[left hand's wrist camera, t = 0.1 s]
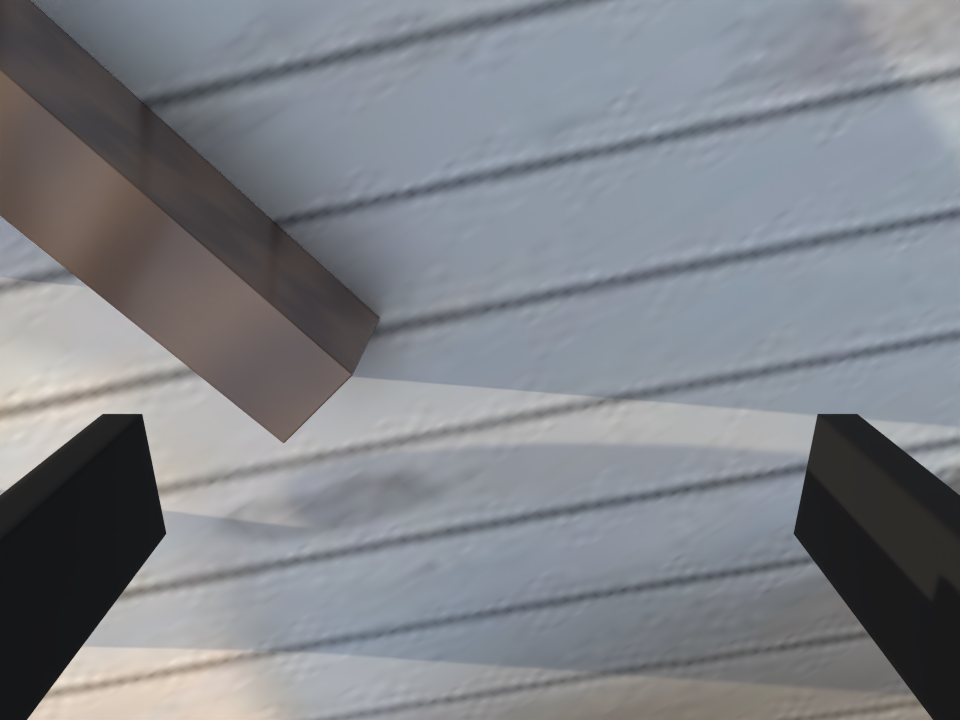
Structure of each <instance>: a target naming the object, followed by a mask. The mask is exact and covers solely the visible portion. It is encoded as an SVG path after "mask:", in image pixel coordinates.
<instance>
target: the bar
mask: <svg viewBox="0 0 960 720" xmlns="http://www.w3.org/2000/svg"><path fill="white" fill-rule="evenodd" d="M0 216H2V217H3V218H4V219H5V220H7V221H8V222H9V223H10V224H11V225H13V226H14V227H15V228H16V229H18V230H19V231H20V232H21V233H23V234H24V235H25V236H26V237H28V238H29V239H30V240H31V241H33V242H34V243H35V244H36V245H38V246H39V247H40V248H41V249H43V250H44V251H45V252H46V253H48V254H49V255H50V256H51V257H53V258H54V259H55V260H56V261H58V262H59V263H60V264H61V265H62V266H64V267H65V268H66V269H67V270H69V271H70V272H71V273H72V274H74V275H75V276H76V277H77V278H79V279H80V280H81V281H82V282H84V283H85V284H86V285H87V286H89V287H90V288H91V289H92V290H94V291H95V292H96V293H97V294H99V295H100V296H101V297H102V298H104V299H105V300H106V301H107V302H109V303H110V304H111V305H112V306H113V307H115V308H116V309H117V310H118V311H120V312H121V313H122V314H123V315H125V316H126V317H127V318H128V319H130V320H131V321H132V322H133V323H135V324H136V325H137V326H138V327H140V328H141V329H142V330H143V331H145V332H146V333H147V334H148V335H150V336H151V337H152V338H153V339H155V340H156V341H157V342H158V343H160V344H161V345H162V346H163V347H164V348H166V349H167V350H168V351H169V352H171V353H172V354H173V355H174V356H176V357H177V358H178V359H179V360H181V361H182V362H183V363H184V364H186V365H187V366H188V367H189V368H191V369H192V370H193V371H194V372H196V373H197V374H198V375H199V376H201V377H202V378H203V379H204V380H206V381H207V382H208V383H209V384H211V385H212V386H213V387H214V388H215V389H217V390H218V391H219V392H220V393H222V394H223V395H224V396H225V397H227V398H228V399H229V400H230V401H232V402H233V403H234V404H235V405H237V406H238V407H239V408H240V409H242V410H243V411H244V412H245V413H247V414H248V415H249V416H250V417H252V418H253V419H254V420H255V421H257V422H258V423H259V424H260V425H262V426H263V427H264V428H265V429H266V430H268V431H269V432H270V433H271V434H273V435H274V436H275V437H276V438H278V439H279V440H280V441H281V442H283V443H285V442H286V441H287V440H288V439H289V438H290V437H291V436H292V435H293V434H294V433H295V432H296V431H297V430H298V429H299V428H300V427H301V426H302V425H303V424H304V423H305V422H306V421H307V420H308V419H309V418H310V417H311V416H312V415H313V414H314V413H315V412H316V411H317V410H318V409H319V408H320V407H321V406H322V405H323V404H324V403H325V402H326V401H327V400H328V399H329V398H330V397H331V396H332V395H333V394H334V393H335V392H336V391H337V390H338V389H339V388H340V387H341V386H342V385H343V384H344V383H345V382H346V381H347V380H348V379H349V378H350V377H351V376H352V375H353V373H354V371H355V369H356V367H357V365H358V363H359V361H360V359H361V356H362V354H363V352H364V350H365V348H366V346H367V344H368V342H369V340H370V338H371V336H372V334H373V332H374V330H375V328H376V326H377V324H378V322H379V319H380V318H379V317H378V316H377V315H376V314H375V313H373V312H372V311H371V310H370V309H369V308H368V307H367V306H366V305H365V304H363V303H362V302H361V301H360V300H359V299H358V298H357V297H356V296H355V295H354V294H352V293H351V292H350V291H349V290H348V289H347V288H346V287H345V286H344V285H343V284H341V283H340V282H339V281H338V280H337V279H336V278H335V277H334V276H333V275H332V274H330V273H329V272H328V271H327V270H326V269H325V268H324V267H323V266H322V265H321V264H319V263H318V262H317V261H316V260H315V259H314V258H313V257H312V256H311V255H310V254H308V253H307V252H306V251H305V250H304V249H303V248H302V247H301V246H300V245H299V244H297V243H296V242H295V241H294V240H293V239H292V238H291V237H290V236H289V235H288V234H286V233H285V232H284V231H283V230H282V229H281V228H280V227H279V226H278V225H277V224H275V223H274V222H273V221H272V220H271V219H270V218H269V217H268V216H267V215H266V214H264V213H263V212H262V211H261V210H260V209H259V208H258V207H257V206H256V205H254V204H253V203H252V202H251V201H250V200H249V199H248V198H247V197H246V196H245V195H243V194H242V193H241V192H240V191H239V190H238V189H237V188H236V187H235V186H234V185H232V184H231V183H230V182H229V181H228V180H227V179H226V178H225V177H224V176H223V175H221V174H220V173H219V172H218V171H217V170H216V169H215V168H214V167H213V166H212V165H210V164H209V163H208V162H207V161H206V160H205V159H204V158H203V157H202V156H201V155H199V154H198V153H197V152H196V151H195V150H194V149H193V148H192V147H191V146H190V145H188V144H187V143H186V142H185V141H184V140H183V139H182V138H181V137H180V136H179V135H177V134H176V133H175V132H174V131H173V130H172V129H171V128H170V127H169V126H168V125H166V124H165V123H164V122H163V121H162V120H161V119H160V118H159V117H158V116H157V115H155V114H154V113H153V112H152V111H151V110H150V109H149V108H148V107H147V106H145V105H144V104H143V103H142V102H141V101H140V100H139V99H138V98H137V97H136V96H134V95H133V94H132V93H131V92H130V91H129V90H128V89H127V88H126V87H125V86H123V85H122V84H121V83H120V82H119V81H118V80H117V79H116V78H115V77H114V76H112V75H111V74H110V73H109V72H108V71H107V70H106V69H105V68H104V67H103V66H101V65H100V64H99V63H98V62H97V61H96V60H95V59H94V58H93V57H92V56H90V55H89V54H88V53H87V52H86V51H85V50H84V49H83V48H82V47H81V46H79V45H78V44H77V43H76V42H75V41H74V40H73V39H72V38H71V37H70V36H68V35H67V34H66V33H65V32H64V31H63V30H62V29H61V28H60V27H59V26H57V25H56V24H55V23H54V22H53V21H52V20H51V19H50V18H49V17H48V16H46V15H45V14H44V13H43V12H42V11H41V10H40V9H39V8H38V7H36V6H35V5H34V4H33V3H32V2H31V1H30V0H0Z"/></svg>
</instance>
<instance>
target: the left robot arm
mask: <svg viewBox="0 0 960 720" xmlns="http://www.w3.org/2000/svg"><path fill="white" fill-rule="evenodd" d="M165 535H166V530H165V525H164V520H163V515H162V510H161V505H160V500H159V495H158V490H157V485H156V480H155V475H154V470H153V465H152V460H151V455H150V450H149V445H148V440H147V436H146V431H145V426H144V421H143V416H142V414H102V415H101V416H100V417H99V418H97V419H96V420H95V421H93V422H92V423H91V424H90V425H88V426H87V427H86V428H85V429H83V430H82V431H81V432H80V433H78V434H77V435H76V436H75V437H73V438H72V439H71V440H70V441H68V442H67V443H66V444H64V445H63V446H62V447H61V448H59V449H58V450H57V451H56V452H54V453H53V454H52V455H51V456H49V457H48V458H47V459H46V460H44V461H43V462H42V463H41V464H39V465H38V466H37V467H35V468H34V469H33V470H32V471H30V472H29V473H28V474H27V475H25V476H24V477H23V478H22V479H20V480H19V481H18V482H17V483H15V484H14V485H13V486H12V487H10V488H9V489H8V490H7V491H5V492H4V493H3V494H1V495H0V720H27V719H28V718H29V716H30V715H31V714H32V712H33V711H34V710H35V708H36V707H37V706H38V704H39V703H40V702H41V700H42V699H43V698H44V696H45V695H46V694H47V692H48V691H49V690H50V688H51V687H52V686H53V684H54V683H55V681H56V680H57V679H58V677H59V676H60V675H61V673H62V672H63V671H64V669H65V668H66V667H67V665H68V664H69V663H70V661H71V660H72V659H73V657H74V656H75V655H76V653H77V652H78V651H79V649H80V648H81V647H82V645H83V644H84V643H85V641H86V640H87V639H88V637H89V636H90V635H91V633H92V632H93V631H94V629H95V628H96V627H97V625H98V624H99V623H100V621H101V620H102V619H103V617H104V616H105V615H106V613H107V612H108V611H109V609H110V608H111V607H112V605H113V604H114V603H115V601H116V600H117V599H118V597H119V596H120V595H121V593H122V592H123V591H124V589H125V588H126V587H127V585H128V584H129V583H130V581H131V580H132V579H133V577H134V576H135V575H136V573H137V572H138V571H139V569H140V568H141V567H142V565H143V564H144V563H145V561H146V560H147V559H148V557H149V556H150V555H151V553H152V552H153V551H154V549H155V548H156V547H157V545H158V544H159V543H160V541H161V540H162V539H163V537H164V536H165ZM794 535H795V536H796V537H797V539H798V540H799V541H800V543H801V544H802V545H803V547H804V548H805V549H806V551H807V552H808V553H809V555H810V556H811V557H812V559H813V560H814V561H815V563H816V564H817V565H818V567H819V568H820V569H821V571H822V572H823V573H824V575H825V576H826V577H827V579H828V580H829V581H830V583H831V584H832V585H833V587H834V588H835V589H836V591H837V592H838V593H839V595H840V596H841V597H842V599H843V600H844V601H845V603H846V604H847V605H848V607H849V608H850V609H851V611H852V612H853V613H854V615H855V616H856V617H857V619H858V620H859V621H860V623H861V624H862V625H863V627H864V628H865V629H866V631H867V632H868V633H869V635H870V636H871V637H872V639H873V640H874V641H875V643H876V644H877V645H878V647H879V648H880V649H881V651H882V652H883V653H884V655H885V656H886V657H887V659H888V660H889V661H890V663H891V664H892V665H893V667H894V668H895V669H896V671H897V672H898V673H899V675H900V676H901V677H902V679H903V680H904V681H905V683H906V684H907V686H908V687H909V688H910V690H911V691H912V692H913V694H914V695H915V696H916V698H917V699H918V700H919V702H920V703H921V704H922V706H923V707H924V708H925V710H926V711H927V712H928V714H929V715H930V716H931V718H932V719H933V720H960V495H959V494H957V493H956V492H955V491H953V490H952V489H951V488H950V487H948V486H947V485H946V484H945V483H943V482H942V481H941V480H940V479H938V478H937V477H936V476H935V475H933V474H932V473H931V472H930V471H928V470H927V469H926V468H925V467H923V466H922V465H921V464H919V463H918V462H917V461H916V460H914V459H913V458H912V457H911V456H909V455H908V454H907V453H906V452H904V451H903V450H902V449H901V448H899V447H898V446H897V445H896V444H894V443H893V442H892V441H890V440H889V439H888V438H887V437H885V436H884V435H883V434H882V433H880V432H879V431H878V430H877V429H875V428H874V427H873V426H872V425H870V424H869V423H868V422H867V421H865V420H864V419H863V418H861V417H860V416H859V415H858V414H818V416H817V421H816V426H815V431H814V435H813V440H812V445H811V450H810V455H809V460H808V465H807V470H806V475H805V480H804V485H803V490H802V495H801V500H800V505H799V510H798V515H797V520H796V525H795V530H794Z"/></svg>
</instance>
